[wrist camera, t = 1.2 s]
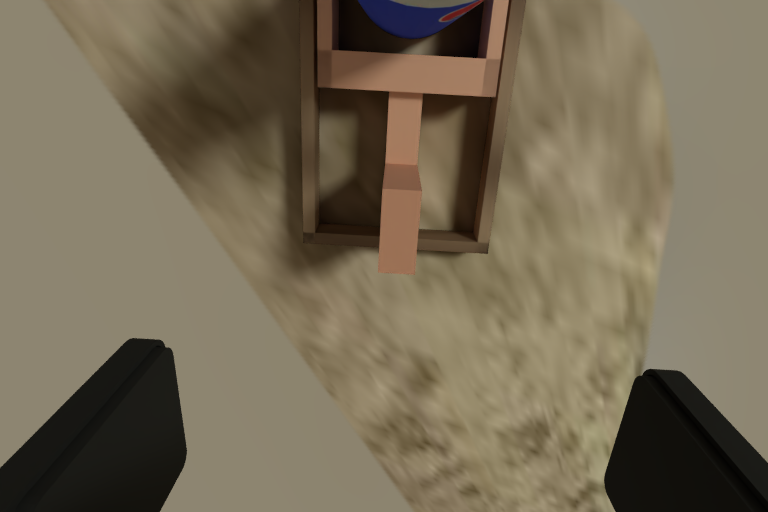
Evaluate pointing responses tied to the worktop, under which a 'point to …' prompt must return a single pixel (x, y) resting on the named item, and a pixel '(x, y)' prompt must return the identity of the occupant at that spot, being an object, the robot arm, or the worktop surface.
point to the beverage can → (415, 15)
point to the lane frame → (491, 159)
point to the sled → (407, 112)
